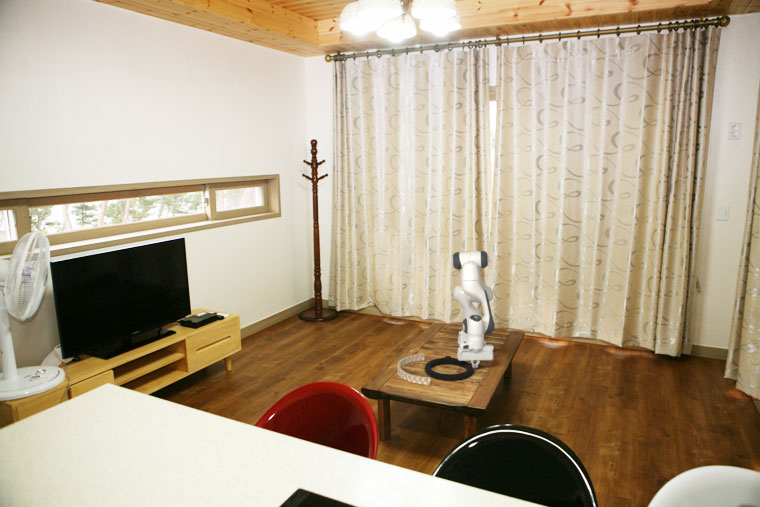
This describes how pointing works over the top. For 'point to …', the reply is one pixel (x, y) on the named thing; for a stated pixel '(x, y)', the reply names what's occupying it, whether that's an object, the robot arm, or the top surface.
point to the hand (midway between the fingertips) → (474, 367)
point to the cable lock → (448, 377)
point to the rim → (408, 376)
